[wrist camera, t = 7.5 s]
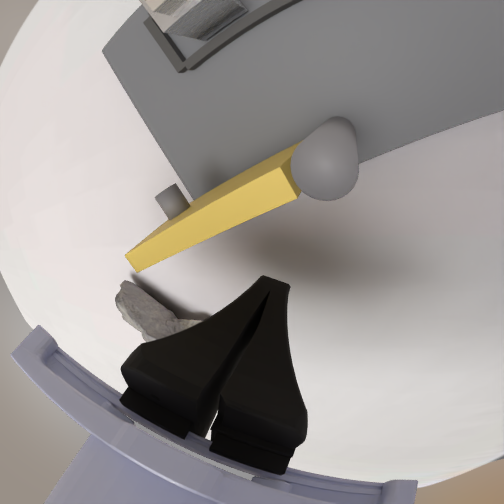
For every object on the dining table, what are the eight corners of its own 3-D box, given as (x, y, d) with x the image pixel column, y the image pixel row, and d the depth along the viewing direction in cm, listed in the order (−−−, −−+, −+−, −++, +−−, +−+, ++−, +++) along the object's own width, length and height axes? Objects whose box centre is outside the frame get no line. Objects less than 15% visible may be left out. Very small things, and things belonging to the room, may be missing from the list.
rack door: (321, 153, 10) (297, 198, 6) (200, 215, 13) (137, 272, 10) (297, 111, 9) (253, 123, 5) (180, 183, 13) (107, 230, 9)
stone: (232, 372, 24) (213, 407, 20) (126, 310, 25) (101, 338, 22) (249, 337, 20) (225, 381, 16) (120, 265, 21) (87, 295, 18)
